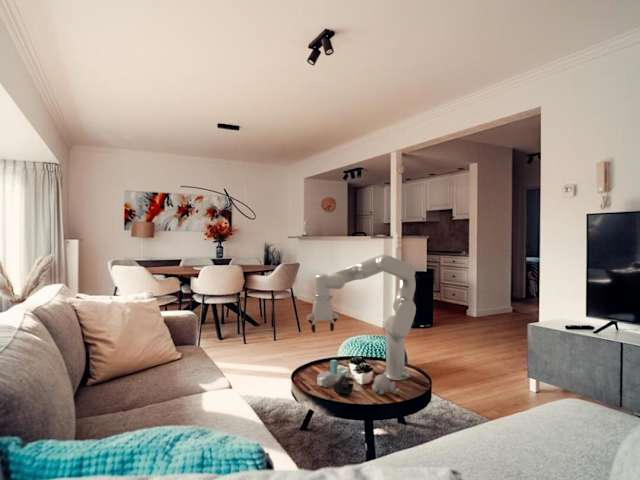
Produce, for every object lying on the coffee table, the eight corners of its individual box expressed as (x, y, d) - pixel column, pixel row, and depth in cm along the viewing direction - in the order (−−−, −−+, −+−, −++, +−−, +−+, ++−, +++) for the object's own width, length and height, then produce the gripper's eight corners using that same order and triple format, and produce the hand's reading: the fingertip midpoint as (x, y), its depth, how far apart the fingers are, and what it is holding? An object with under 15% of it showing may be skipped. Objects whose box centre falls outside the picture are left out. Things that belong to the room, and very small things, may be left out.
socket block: (349, 378, 201) (349, 367, 201) (342, 381, 197) (342, 370, 197) (339, 375, 206) (339, 364, 206) (331, 378, 201) (331, 367, 201)
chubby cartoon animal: (395, 402, 177) (402, 385, 177) (370, 391, 178) (377, 374, 178) (394, 396, 184) (401, 379, 184) (370, 385, 186) (377, 369, 185)
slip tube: (337, 379, 197) (337, 360, 197) (321, 385, 188) (321, 366, 189) (333, 377, 199) (333, 359, 199) (317, 384, 191) (317, 364, 191)
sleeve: (334, 383, 194) (334, 373, 194) (325, 387, 189) (325, 376, 189) (327, 381, 197) (327, 370, 197) (317, 384, 192) (317, 374, 192)
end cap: (339, 388, 188) (339, 374, 189) (353, 389, 186) (353, 375, 186) (333, 395, 179) (333, 381, 179) (348, 397, 177) (348, 382, 177)
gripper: (336, 296, 207) (336, 328, 207) (304, 298, 203) (304, 331, 203) (340, 298, 200) (340, 332, 200) (308, 300, 195) (308, 334, 195)
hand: (322, 331), depth 201 cm, fingers open, 9 cm apart
